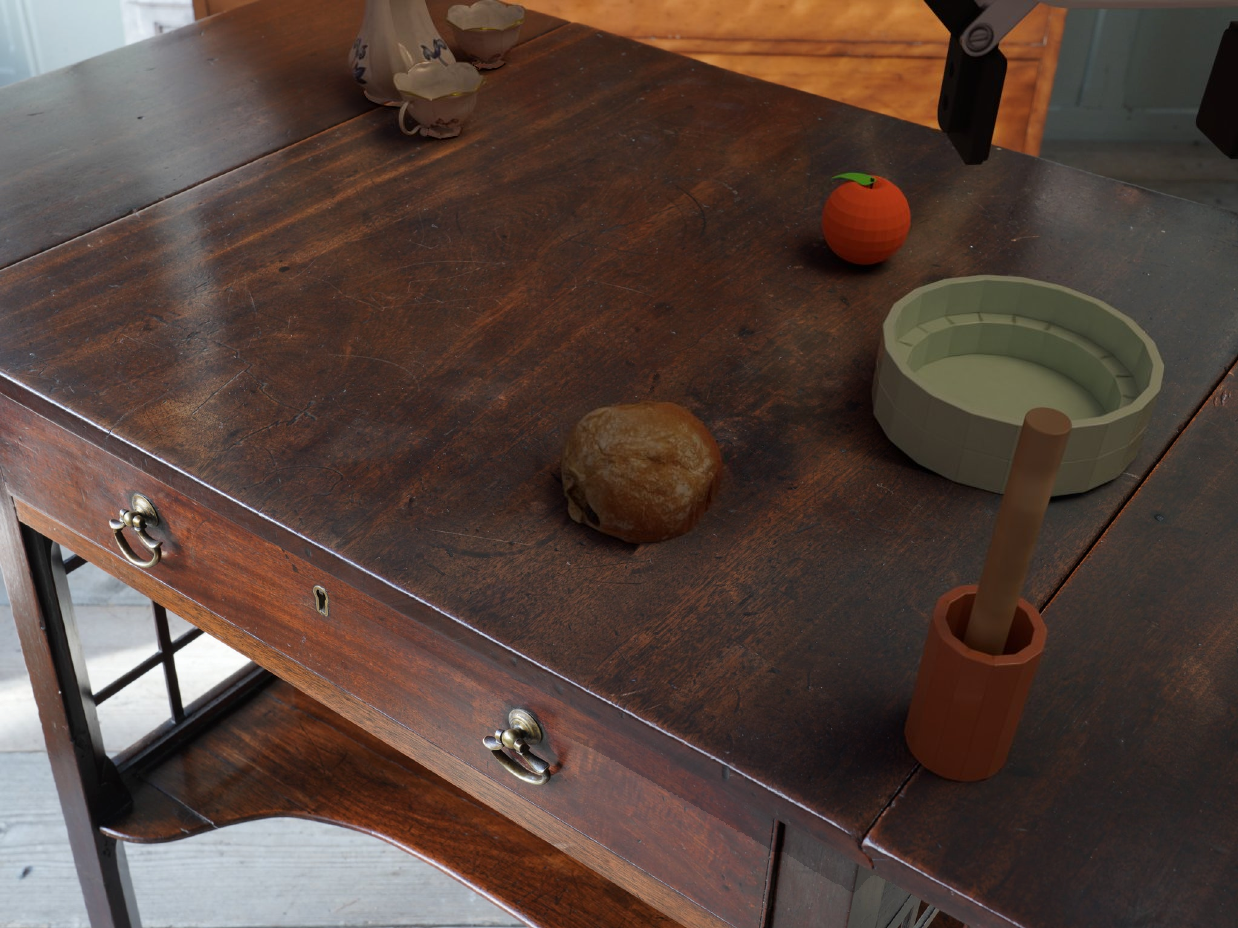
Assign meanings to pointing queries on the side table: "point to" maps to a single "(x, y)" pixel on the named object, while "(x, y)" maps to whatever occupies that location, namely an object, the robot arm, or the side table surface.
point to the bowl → (1013, 378)
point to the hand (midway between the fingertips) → (1092, 146)
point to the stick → (1017, 528)
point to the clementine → (865, 219)
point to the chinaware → (430, 57)
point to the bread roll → (641, 471)
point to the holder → (971, 690)
